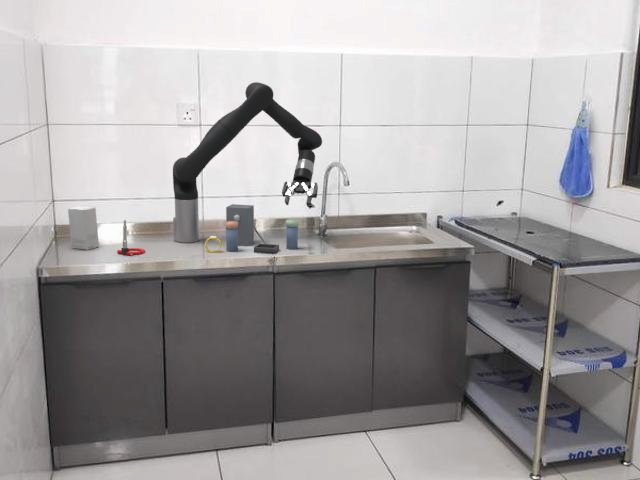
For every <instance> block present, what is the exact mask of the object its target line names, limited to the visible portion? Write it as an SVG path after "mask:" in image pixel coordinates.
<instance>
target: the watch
mask: <svg viewBox="0 0 640 480" xmlns="http://www.w3.org/2000/svg"><path fill="white" fill-rule="evenodd" d="M209 240H216V241H218V242H219V248H218V249H217V250H210V249H209V248H208V244H207V243H208V241H209ZM204 243H205V245H204V246H205V247H204V248H205V250H206V251H208V253H218V252H220V250H221V248H222V242H221V240H220V239H219V238H218V236H216V235H211V236H209V237H208V238H207V239H206V240H205V242H204Z"/></svg>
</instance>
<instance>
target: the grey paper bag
mask: <svg viewBox="0 0 640 480" xmlns="http://www.w3.org/2000/svg"><path fill="white" fill-rule="evenodd" d="M67 214H68V223H69V224H68V225H69V233H70V242H71V249H77V250H78V249H79V250H86V251H89V250H93V249H96V248H98V247H100V243H99V232H98V222H97V209H96V207H95V206H83V205H78V206H75V207H71V208H69V207H68V208H67Z"/></svg>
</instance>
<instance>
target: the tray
mask: <svg viewBox="0 0 640 480" xmlns="http://www.w3.org/2000/svg"><path fill="white" fill-rule="evenodd" d="M278 250H279V251H280V244H270V243H258V244H257V245H255V246H254V247H253V253H254V254H255V253H256V254H268V255H275V254H276V253H277V252H278Z"/></svg>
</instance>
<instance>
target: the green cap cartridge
mask: <svg viewBox="0 0 640 480" xmlns="http://www.w3.org/2000/svg"><path fill="white" fill-rule="evenodd" d="M285 226H286V227H285V231H286V233H285V234H286V237H285V238H286V239H285V241H286V243H285V244H286V245H285V246H286V248H285V249H286V250H289V251H290V250H292V251H293V250H295V251H296V250H298V248H299V247H298V245H299V244H298V243H299V242H298V241H299V240H298V239H299V238H298V237H299V233H298V232H299V231H298V230H299V220H298V219H286V220H285Z"/></svg>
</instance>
